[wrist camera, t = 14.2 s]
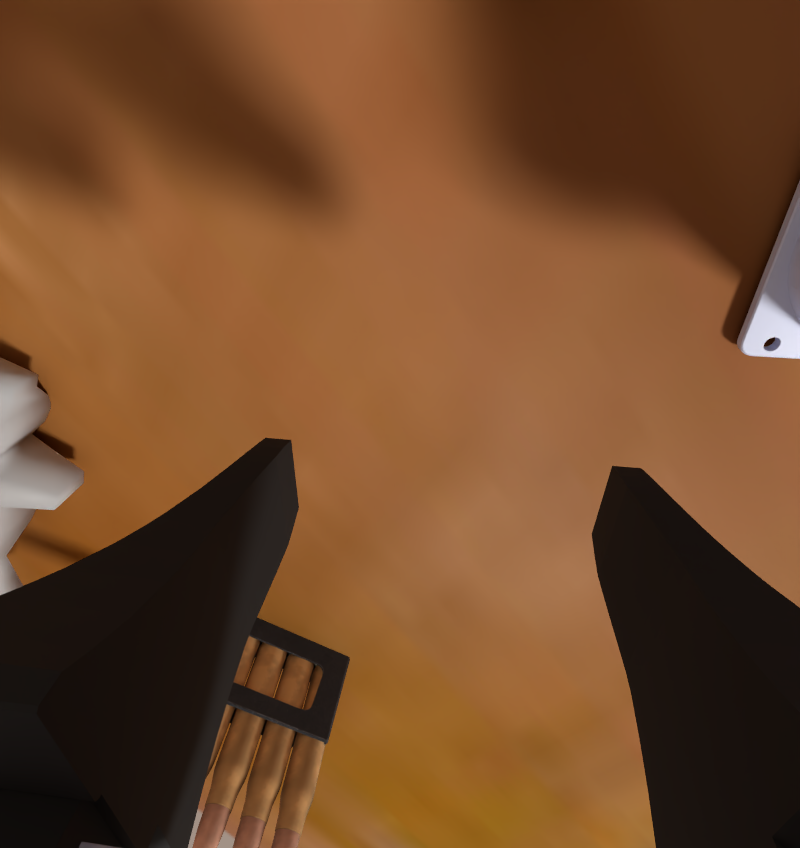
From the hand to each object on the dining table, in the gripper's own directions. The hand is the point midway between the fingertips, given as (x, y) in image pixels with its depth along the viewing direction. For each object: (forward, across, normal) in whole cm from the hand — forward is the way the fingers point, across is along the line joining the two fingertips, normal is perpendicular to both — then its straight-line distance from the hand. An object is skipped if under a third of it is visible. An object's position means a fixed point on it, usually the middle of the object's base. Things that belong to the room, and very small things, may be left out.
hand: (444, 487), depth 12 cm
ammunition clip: (+10, +10, +20) cm, 25 cm away
